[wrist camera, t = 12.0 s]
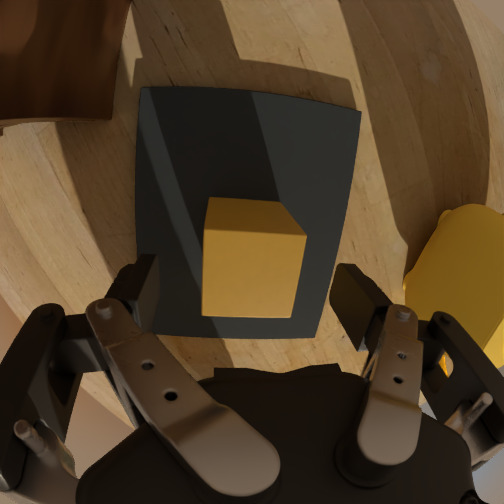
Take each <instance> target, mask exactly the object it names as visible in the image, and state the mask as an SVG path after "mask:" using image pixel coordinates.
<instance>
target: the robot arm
mask: <svg viewBox="0 0 504 504" xmlns="http://www.w3.org/2000/svg"><path fill="white" fill-rule="evenodd" d="M159 298H160V277H159V258H158V255H157V254H143V253H141V254H140V255H139V257H138V259H137V261H136V263H135V264H128V265H126V266H125V267H123V268H122V269H121V270H120V271H119V273H118V275H117V277H116V278H115V280H114V283H112V285H111V287H110V288H109V290H108V292H107V294H106V295H105V297H104V298H102V299H98V300H95V301H93V302H92V303H90V304H89V305H88V306H87V308H86V311H85V313H84V314H76V315H66V316H65V312H64V309H63V308H62V306H60V305H58V304H55V303H48V304H44V305H41V306H39V307H37V308H36V309H34V310H33V311H32V313H31V314H30V316H29V317H28V319H27V320H26V322H25V323H24V325H23V326H22V328H21V330H20V331H19V333H18V334H17V336H16V338H15V339H14V341H13V343H12V344H11V346H10V348H9V350H8V351H7V353H6V355H5V356H4V358H3V360H2V362H1V364H0V492H1V493H2V494H4V495H5V496H7V497H8V498H10V499H12V500H13V501H15V502H17V503H19V504H488V503H486V502H484V501H482V500H481V499H480V498H479V497H478V495H477V493H476V491H475V487H474V483H473V477H472V472H473V471H476V470H477V469H478V468H480V467H481V466H482V465H483V464H485V463H486V462H487V461H488V460H490V459H491V458H492V457H493V456H494V455H495V454H497V453H498V452H499V451H500V450H501V449H502V448H503V447H504V377H503V376H502V375H501V373H500V372H499V371H498V369H497V368H496V367H495V365H494V364H493V363H492V362H491V360H490V359H489V358H488V357H487V355H486V354H485V353H484V352H483V350H482V349H481V348H480V347H479V345H478V344H477V343H476V342H475V341H474V339H473V338H472V337H471V336H470V335H469V334H468V332H467V331H466V330H465V329H464V328H463V327H462V326H461V324H460V323H459V322H458V321H457V320H456V319H455V318H454V317H453V316H451V315H450V314H448V313H445V312H442V311H436V312H434V313H433V315H432V317H431V319H430V321H426V320H419V319H418V316H417V314H416V313H415V312H414V311H413V310H412V309H410V308H408V307H406V306H404V305H400V304H393V303H392V302H391V300H390V299H389V298H388V297H387V296H386V295H385V294H384V292H382V290H381V289H380V288H379V287H377V284H376V283H375V282H374V281H373V280H372V279H371V278H369V277H367V276H366V275H364V274H363V272H362V271H361V270H360V269H359V268H358V267H357V266H356V265H355V264H346V263H339V264H338V265H337V268H336V271H335V275H334V279H333V283H332V286H331V290H330V295H329V301H330V305H331V307H332V309H333V310H334V312H335V314H336V315H337V317H338V319H339V321H340V322H341V324H342V326H343V328H344V329H345V331H346V333H347V335H348V336H349V338H350V340H351V342H352V344H353V345H354V347H355V349H356V351H357V352H361V351H369V353H368V356H367V358H366V360H365V363H364V366H363V369H362V372H361V375H360V376H358V375H355V374H352V373H347V372H342V371H341V369H340V367H339V365H338V363H334V364H324V365H311V366H307V367H304V368H300V369H296V370H293V371H289V372H285V373H273V372H267V371H261V370H255V369H249V368H214V377H211V378H207V379H203V380H200V381H197V382H196V380H195V379H194V378H193V377H192V376H191V375H190V374H189V373H188V372H187V371H186V370H185V369H184V367H183V366H182V365H181V364H180V363H179V362H178V361H177V360H176V359H175V357H174V356H173V355H172V354H171V353H170V352H169V350H168V349H167V348H166V347H165V346H164V345H163V343H162V342H161V341H160V340H159V339H158V337H157V336H156V335H155V334H154V333H153V332H152V331H151V328H152V324H153V320H154V316H155V313H156V309H157V306H158V302H159ZM445 351H446V353H447V354H448V355H449V357H450V358H451V360H452V361H453V365H454V367H453V371H452V373H451V375H450V376H449V378H448V377H447V375H446V374H445V372H444V371H443V369H442V368H441V366H440V365H439V361H440V360H441V358H442V356H443V355H444V353H445ZM97 371H103V372H104V374H105V376H106V378H107V380H108V381H109V383H110V385H111V387H112V389H113V390H114V392H115V394H116V396H117V397H118V399H119V401H120V402H121V404H122V406H123V408H124V409H125V411H126V413H127V415H128V417H129V419H130V421H131V423H132V424H133V426H134V427H135V429H136V430H135V431H134V432H133V433H131V434H130V435H129V436H128V437H126V438H125V439H124V440H123V441H122V442H120V443H119V444H118V445H117V446H115V447H114V448H113V449H112V450H110V451H109V452H108V453H107V454H106V455H104V456H103V457H102V458H101V459H100V460H98V461H97V462H96V463H94V464H93V465H91V467H89V468H88V469H87V470H86V471H85V472H84V474H83V475H82V476H81V478H80V479H78V478H77V476H76V475H75V462H74V458H73V455H72V454H71V452H70V451H69V450H68V449H67V448H66V446H65V445H64V443H65V438H66V434H67V430H68V426H69V422H70V418H71V414H72V410H73V406H74V403H75V399H76V396H77V392H78V389H79V386H80V382H81V379H82V376H83V373H87V372H97ZM420 389H421V391H422V393H423V395H424V396H425V398H426V400H427V402H428V404H429V405H430V407H431V409H432V411H433V413H434V415H435V417H436V419H437V420H436V419H434V418H432V417H430V416H429V415H427V414H425V413H423V412H422V410H421V408H420V407H419V406H418V402H419V394H420Z"/></svg>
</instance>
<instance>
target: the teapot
mask: <svg viewBox="0 0 504 504" xmlns="http://www.w3.org/2000/svg"><path fill="white" fill-rule="evenodd" d="M403 288H404V290H405V306H406V307H408V308H410V309H412V310H413V311H414V312H415V313H416V314H417V316H418V319H419V320H426V321H430V319H431V317H432V315H433V313H434V312H436V311H442V312H445V313H448V314H450V315H451V316H453V317H454V318H455V319H456V320H457V321H458V322H459V323H460V324H461V326H462V327H463V328H464V329H465V330H466V331H467V332H468V334H469V335H470V336H471V337H472V338H473V339H474V341H475V342H476V343H477V344H478V345H479V347H480V348H481V349H482V350H483V352H484V353H485V354H486V355H487V357H488V358H489V359H490V360H491V362H492V363H493V364H494V365H495V367H496V368H497V369H498V368H500V367H502V366H503V365H504V213H503V214H500V213H498V212H496V211H495V210H493V209H491V208H489V207H487V206H484V205H480V204H474V203H473V204H466V205H463V206H460V207H458V208H456V209H454V210H446V211H444V212H443V213H442V214H441V216H440V218H439V220H438V225H437V228H436V230H435V231H434V233H433V234H432V236H431V237H430V239H429V241H428V242H427V244H426V246H425V247H424V249H423V251H422V253H421V255H420V256H419V258H418V260H417V262H416V264H415V266H414V268H413V269H412V270H410V271H409V272H408V273H407V275H406V276H405V278H404V280H403ZM444 355H446V356H448V357H449V355H448V354H447V353H446V351H445V353H444ZM444 355H443V356H442V358H441V360H440V361H439V365H440V366H441V368H442V369H443V371H444V372H445V374H446V375H447V377H448V373H447V369H446V363H445V356H444ZM448 378H449V377H448Z"/></svg>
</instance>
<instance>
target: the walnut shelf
mask: <svg viewBox="0 0 504 504" xmlns="http://www.w3.org/2000/svg"><path fill="white" fill-rule="evenodd" d="M130 3H131V0H0V136H2V135H3V128H4V127H8V126H13V125H17V124H21V123H29V122H51V121H101V120H111V118H112V106H113V96H114V87H115V79H116V72H117V65H118V59H119V53H120V48H121V42H122V37H123V32H124V28H125V23H126V19H127V15H128V11H129V7H130Z"/></svg>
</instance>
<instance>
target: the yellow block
mask: <svg viewBox="0 0 504 504" xmlns="http://www.w3.org/2000/svg"><path fill="white" fill-rule="evenodd" d="M306 238H307V235H306V233H305V232H304V231H303V230H302V228H301V227H300V226H299V225H298V223H297V222H296V221H295V220H294V218H293V217H292V216H291V215H290V213H289V212H288V211H287V210H286V209H285V207H284V206H283V205H282V204H281V202H274V201H262V200H249V199H235V198H219V197H209V201H208V207H207V212H206V218H205V224H204V231H203V257H202V300H201V314H202V315H203V316H224V317H269V318H290V317H291V313H292V309H293V304H294V299H295V294H296V290H297V285H298V280H299V275H300V270H301V265H302V259H303V254H304V249H305V243H306Z"/></svg>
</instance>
